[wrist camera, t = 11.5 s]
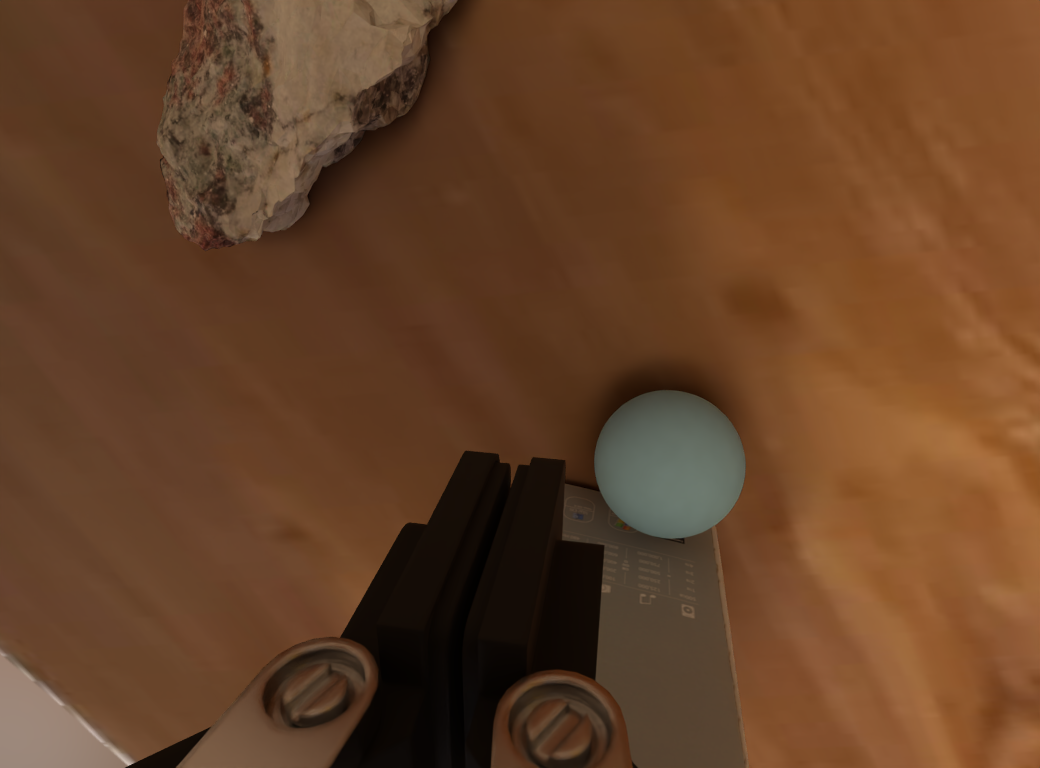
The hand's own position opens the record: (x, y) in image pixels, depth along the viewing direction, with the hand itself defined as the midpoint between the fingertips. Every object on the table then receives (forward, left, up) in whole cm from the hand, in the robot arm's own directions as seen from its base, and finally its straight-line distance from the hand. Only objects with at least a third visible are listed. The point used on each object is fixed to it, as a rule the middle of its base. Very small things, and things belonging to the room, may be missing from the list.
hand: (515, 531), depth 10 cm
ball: (+3, -5, -13) cm, 14 cm away
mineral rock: (-10, +9, -16) cm, 20 cm away
